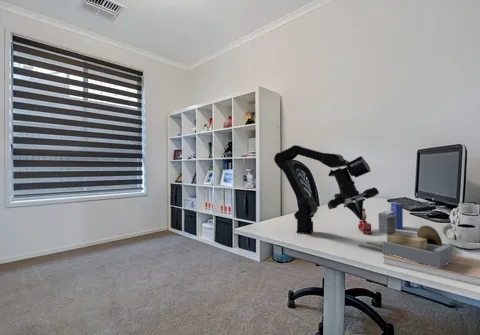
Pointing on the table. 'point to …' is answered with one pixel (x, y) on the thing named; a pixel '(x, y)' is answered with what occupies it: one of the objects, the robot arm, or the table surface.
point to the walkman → (397, 213)
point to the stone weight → (429, 235)
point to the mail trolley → (403, 236)
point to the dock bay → (419, 253)
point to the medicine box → (384, 220)
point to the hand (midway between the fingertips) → (361, 219)
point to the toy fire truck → (364, 225)
